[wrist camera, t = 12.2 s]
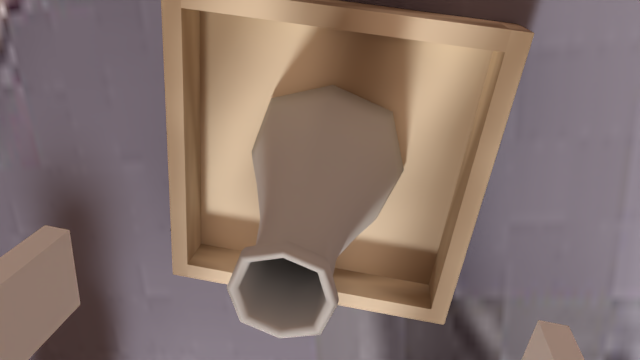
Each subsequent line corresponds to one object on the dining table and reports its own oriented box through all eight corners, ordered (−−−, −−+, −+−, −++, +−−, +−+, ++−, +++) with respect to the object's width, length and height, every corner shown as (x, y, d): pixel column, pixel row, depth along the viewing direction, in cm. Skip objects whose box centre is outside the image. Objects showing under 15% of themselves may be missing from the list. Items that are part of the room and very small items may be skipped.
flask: (253, 74, 20) (145, 163, 12) (416, 91, 20) (435, 201, 11) (252, 213, 24) (168, 367, 15) (393, 233, 23) (392, 406, 14)
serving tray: (517, 24, 19) (534, 32, 16) (439, 291, 25) (443, 324, 23) (186, -20, 20) (160, -17, 17) (191, 247, 26) (172, 274, 24)
